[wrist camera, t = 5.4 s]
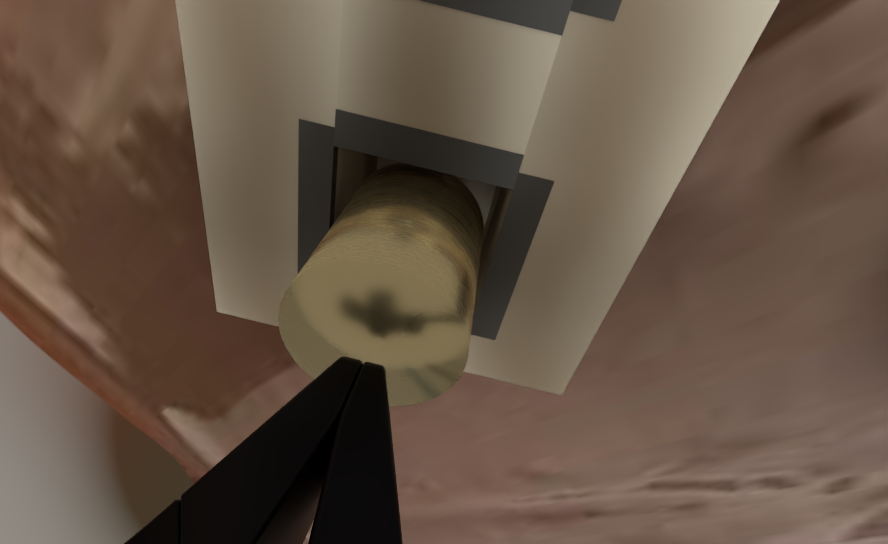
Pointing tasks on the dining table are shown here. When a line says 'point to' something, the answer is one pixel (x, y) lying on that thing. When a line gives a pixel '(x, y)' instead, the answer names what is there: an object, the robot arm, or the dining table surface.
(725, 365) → the dining table surface
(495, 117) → the collar block
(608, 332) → the dining table surface
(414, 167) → the brass peg
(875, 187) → the dining table surface
